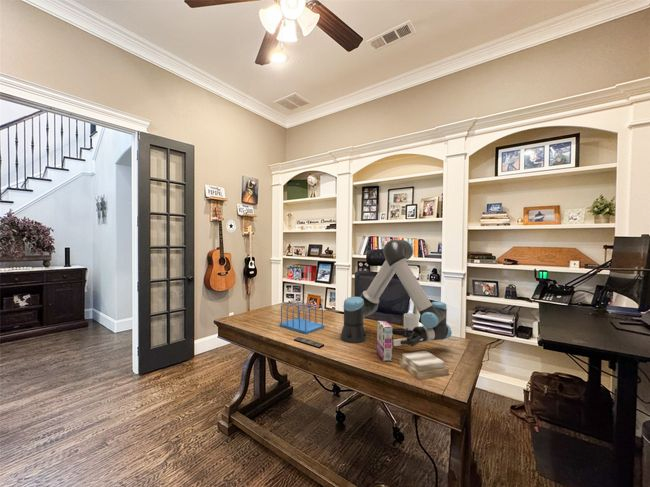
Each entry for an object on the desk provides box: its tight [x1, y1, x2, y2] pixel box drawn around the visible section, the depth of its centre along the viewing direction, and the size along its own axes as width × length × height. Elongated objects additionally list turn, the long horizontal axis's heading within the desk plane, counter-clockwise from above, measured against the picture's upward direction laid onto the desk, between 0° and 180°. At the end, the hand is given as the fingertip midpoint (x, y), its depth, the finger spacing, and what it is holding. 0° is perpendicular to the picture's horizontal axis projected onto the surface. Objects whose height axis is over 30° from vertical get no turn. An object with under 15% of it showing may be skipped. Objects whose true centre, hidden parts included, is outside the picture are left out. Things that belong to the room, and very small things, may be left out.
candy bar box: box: [376, 320, 394, 362], centre depth 135 cm, size 11×5×16 cm, turn 5°
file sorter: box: [279, 300, 325, 335], centre depth 182 cm, size 25×17×15 cm
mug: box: [403, 312, 420, 330], centre depth 172 cm, size 12×9×11 cm
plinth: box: [398, 350, 450, 380], centre depth 122 cm, size 15×15×5 cm
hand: (386, 337), depth 135 cm, fingers open, 13 cm apart
